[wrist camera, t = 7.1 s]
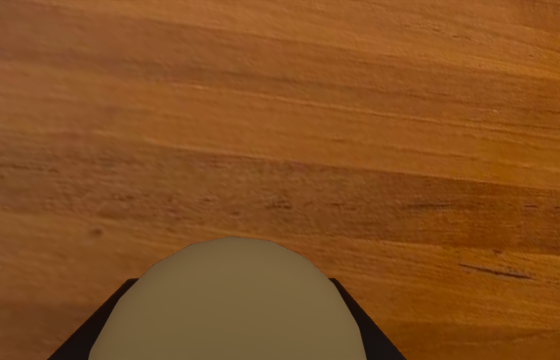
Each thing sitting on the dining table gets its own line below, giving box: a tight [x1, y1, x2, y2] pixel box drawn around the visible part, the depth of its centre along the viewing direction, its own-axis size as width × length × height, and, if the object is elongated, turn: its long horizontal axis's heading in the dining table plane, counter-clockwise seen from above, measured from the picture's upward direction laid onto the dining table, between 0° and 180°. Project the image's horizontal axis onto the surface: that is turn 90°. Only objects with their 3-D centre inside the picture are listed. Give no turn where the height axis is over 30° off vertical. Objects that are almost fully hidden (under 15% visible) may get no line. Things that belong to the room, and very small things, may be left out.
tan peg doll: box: [88, 236, 367, 360], centre depth 10 cm, size 6×6×11 cm
